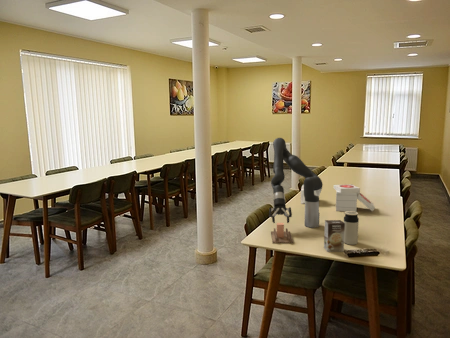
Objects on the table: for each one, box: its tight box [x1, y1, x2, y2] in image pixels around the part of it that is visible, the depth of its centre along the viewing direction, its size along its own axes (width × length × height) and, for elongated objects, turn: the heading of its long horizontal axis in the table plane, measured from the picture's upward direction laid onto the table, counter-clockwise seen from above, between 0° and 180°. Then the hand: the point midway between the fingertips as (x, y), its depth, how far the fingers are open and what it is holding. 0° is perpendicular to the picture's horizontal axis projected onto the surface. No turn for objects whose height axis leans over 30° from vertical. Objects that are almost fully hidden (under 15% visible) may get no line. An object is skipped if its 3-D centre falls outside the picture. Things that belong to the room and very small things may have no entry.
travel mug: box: [343, 211, 360, 246], centre depth 200 cm, size 8×8×18 cm
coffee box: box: [323, 219, 345, 253], centre depth 190 cm, size 9×6×16 cm
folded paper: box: [300, 184, 323, 205], centre depth 296 cm, size 17×24×17 cm
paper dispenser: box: [333, 184, 376, 213], centre depth 269 cm, size 19×30×18 cm, turn 73°
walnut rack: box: [270, 228, 294, 244], centre depth 211 cm, size 12×18×3 cm, turn 176°
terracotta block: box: [276, 222, 285, 238], centre depth 210 cm, size 4×4×8 cm
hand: (281, 222), depth 218 cm, fingers open, 8 cm apart
